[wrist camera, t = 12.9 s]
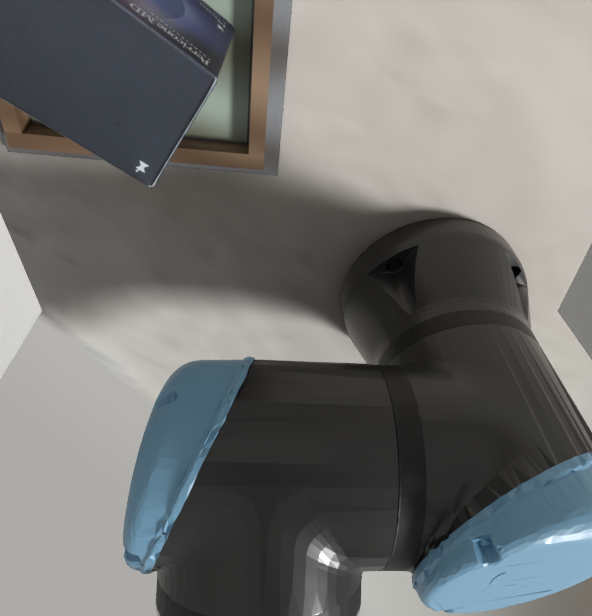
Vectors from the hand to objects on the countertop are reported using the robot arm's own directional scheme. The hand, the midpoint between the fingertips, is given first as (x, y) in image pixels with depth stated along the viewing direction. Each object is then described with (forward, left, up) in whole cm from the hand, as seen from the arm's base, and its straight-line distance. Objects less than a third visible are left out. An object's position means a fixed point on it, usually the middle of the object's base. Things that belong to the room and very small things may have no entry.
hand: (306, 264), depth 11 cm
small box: (+1, +9, -22) cm, 24 cm away
